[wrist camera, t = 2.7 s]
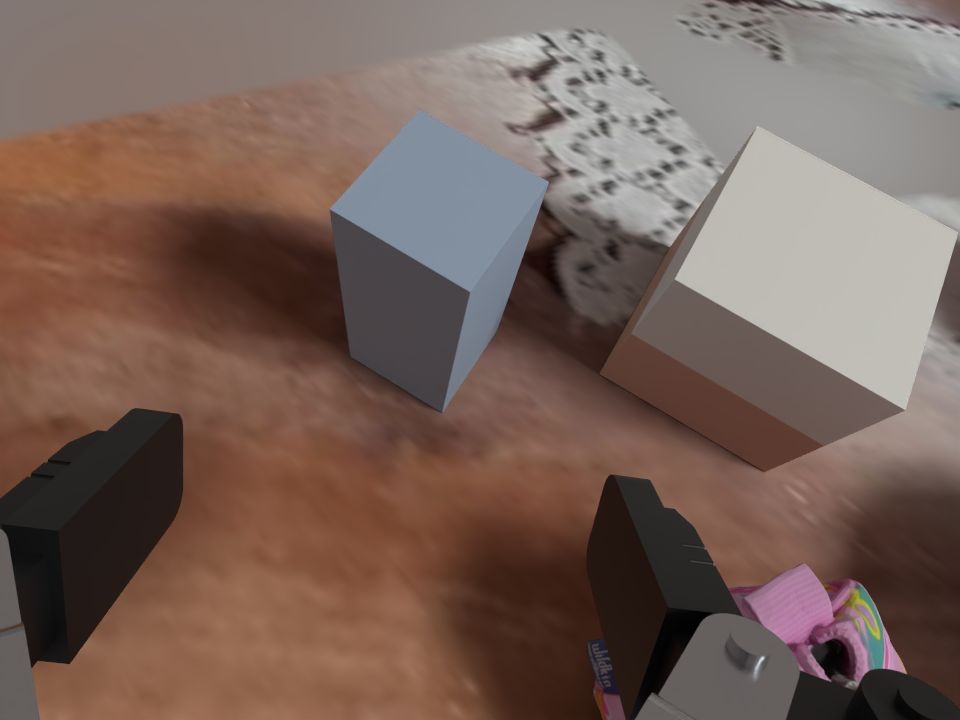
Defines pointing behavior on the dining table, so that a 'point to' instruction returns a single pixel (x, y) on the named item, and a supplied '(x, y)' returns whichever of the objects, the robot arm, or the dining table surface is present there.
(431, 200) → the blue brick
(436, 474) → the dining table surface
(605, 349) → the dining table surface
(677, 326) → the tower base
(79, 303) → the dining table surface
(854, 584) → the pencil case
